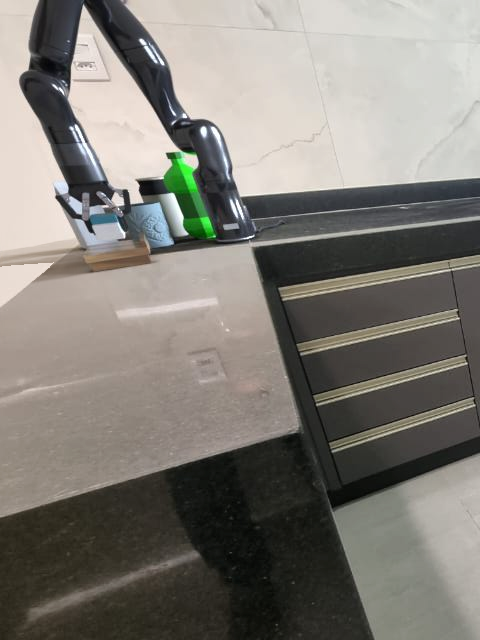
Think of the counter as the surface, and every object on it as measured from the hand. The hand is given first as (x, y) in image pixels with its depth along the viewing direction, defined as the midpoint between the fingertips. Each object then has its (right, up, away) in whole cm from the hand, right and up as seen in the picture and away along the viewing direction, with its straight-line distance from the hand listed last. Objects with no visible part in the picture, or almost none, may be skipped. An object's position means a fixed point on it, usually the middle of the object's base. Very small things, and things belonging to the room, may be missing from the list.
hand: (111, 232), depth 136 cm
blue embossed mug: (-7, +1, +20) cm, 22 cm away
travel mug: (-13, +7, +34) cm, 37 cm away
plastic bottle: (+1, +6, +30) cm, 30 cm away
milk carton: (-26, +1, +23) cm, 35 cm away
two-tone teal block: (+1, -1, -1) cm, 2 cm away
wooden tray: (+1, -7, +2) cm, 7 cm away
